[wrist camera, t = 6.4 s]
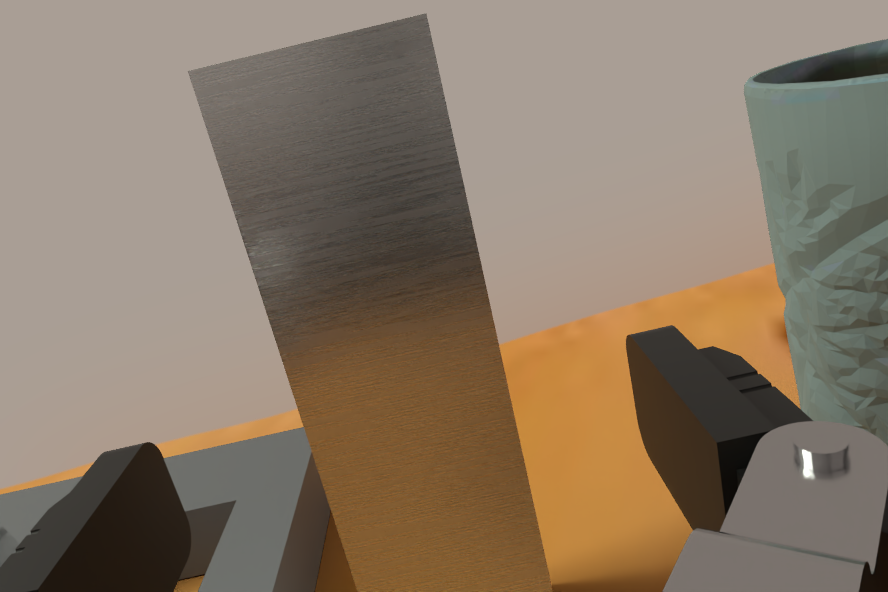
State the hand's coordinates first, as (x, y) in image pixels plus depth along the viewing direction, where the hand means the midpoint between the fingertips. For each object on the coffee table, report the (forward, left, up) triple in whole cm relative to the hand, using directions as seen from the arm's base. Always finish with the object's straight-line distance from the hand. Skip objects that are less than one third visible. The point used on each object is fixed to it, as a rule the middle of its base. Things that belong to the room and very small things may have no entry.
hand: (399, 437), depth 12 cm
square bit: (0, -4, -9) cm, 9 cm away
